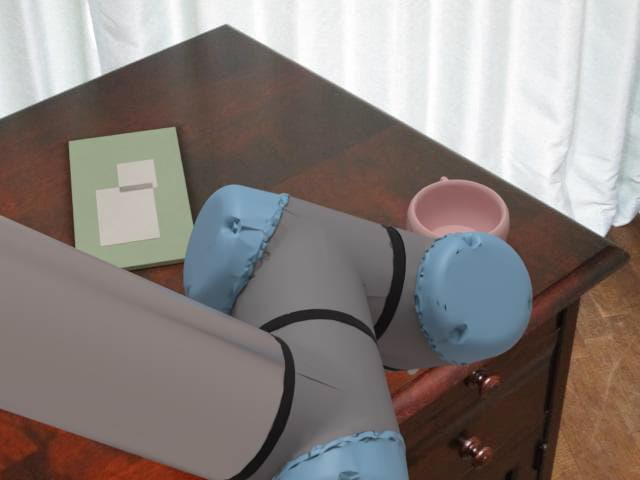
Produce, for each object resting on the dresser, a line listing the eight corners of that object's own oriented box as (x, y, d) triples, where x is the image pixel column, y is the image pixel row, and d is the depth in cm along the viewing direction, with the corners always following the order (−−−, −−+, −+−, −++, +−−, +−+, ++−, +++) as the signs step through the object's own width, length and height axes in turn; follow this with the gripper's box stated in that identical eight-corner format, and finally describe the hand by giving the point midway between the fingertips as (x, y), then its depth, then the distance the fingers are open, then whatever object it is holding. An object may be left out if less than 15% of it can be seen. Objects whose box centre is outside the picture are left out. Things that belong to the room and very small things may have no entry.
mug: (517, 283, 111) (523, 237, 107) (416, 295, 110) (418, 249, 106) (486, 203, 120) (490, 158, 116) (392, 214, 119) (394, 169, 115)
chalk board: (199, 260, 114) (198, 255, 114) (78, 278, 113) (76, 273, 112) (175, 130, 130) (175, 125, 130) (69, 145, 129) (68, 140, 128)
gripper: (245, 466, 73) (144, 465, 92) (513, 284, 85) (375, 315, 104) (188, 364, 73) (98, 383, 91) (466, 194, 84) (336, 242, 103)
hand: (245, 347), depth 98 cm, fingers open, 13 cm apart
